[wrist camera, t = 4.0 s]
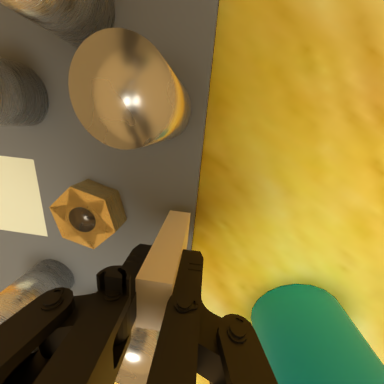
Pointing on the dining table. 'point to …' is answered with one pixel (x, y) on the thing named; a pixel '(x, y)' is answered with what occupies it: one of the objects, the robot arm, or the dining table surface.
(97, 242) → the nut
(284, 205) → the dining table surface
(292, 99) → the dining table surface
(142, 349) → the spacers
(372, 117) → the dining table surface
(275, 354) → the mug
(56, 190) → the mat
